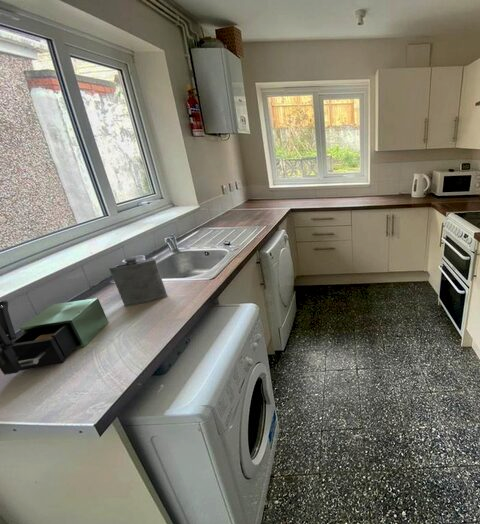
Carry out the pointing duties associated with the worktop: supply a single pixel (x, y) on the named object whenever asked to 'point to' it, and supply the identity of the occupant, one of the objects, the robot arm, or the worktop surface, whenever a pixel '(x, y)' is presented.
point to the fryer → (73, 319)
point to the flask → (138, 281)
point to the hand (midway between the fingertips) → (13, 371)
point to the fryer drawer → (44, 346)
